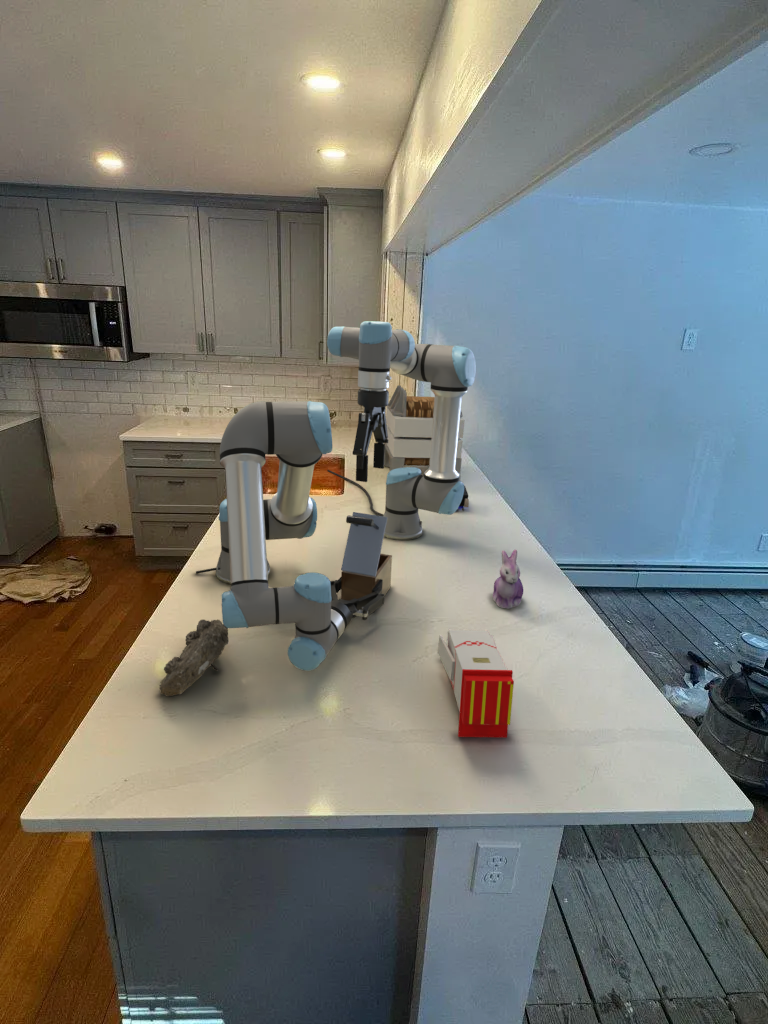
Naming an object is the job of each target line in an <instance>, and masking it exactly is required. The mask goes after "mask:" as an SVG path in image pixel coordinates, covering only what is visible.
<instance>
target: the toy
mask: <svg viewBox="0 0 768 1024" xmlns="http://www.w3.org/2000/svg"><path fill="white" fill-rule="evenodd" d="M446 640H447V643H446V641H445V639H444V636H443V635H442V634H439V637H438V646H437V656H438V657H439V659H440V661H441V663H442V666H443V668H444V670H445V672H446V674H447V677H448V679H449V681H450V684H451V687H452V690H453V693H454V697H455V701H456V705H457V708H458V711H459V714H458V715H459V716H458V730H457V731H458V732H457V737H458V738H508V731H509V726H510V725H511V717H512V707H513V697H514V696H513V695H514V684H515V680H514V679H513V673H514V671H513V670H512V669H508V667H507V665H506V662H505V661H504V659H503V658H502V655H501V653H500V651H499V649H498V647H497V643H496V639H495V637H494V635H493V634H491V632H490V631H489V629H467V628H466V629H465V628H463V629H461V628H460V629H459V628H448V630H447V639H446Z"/></svg>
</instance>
